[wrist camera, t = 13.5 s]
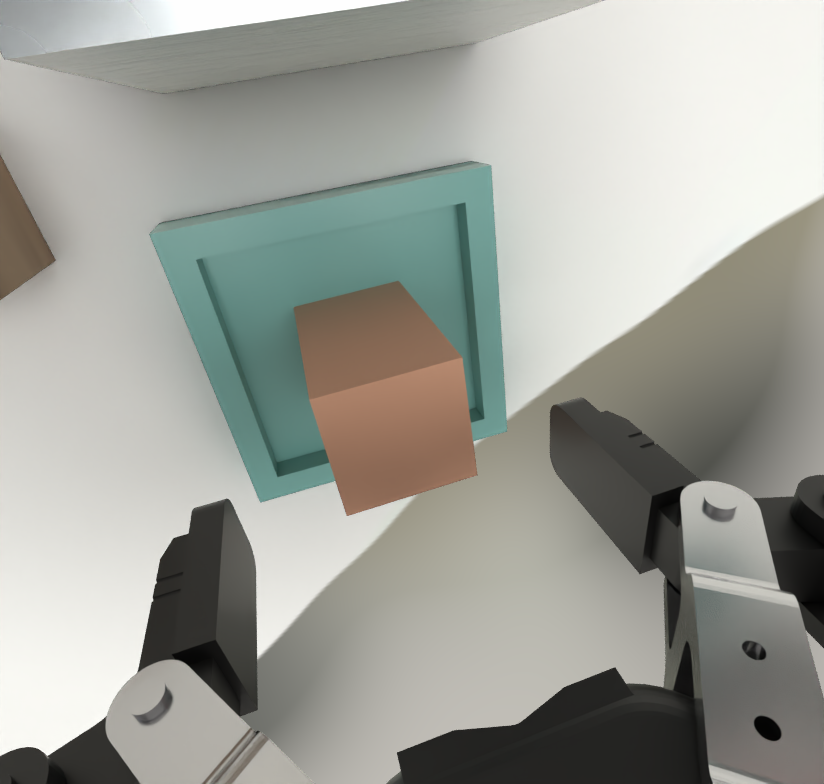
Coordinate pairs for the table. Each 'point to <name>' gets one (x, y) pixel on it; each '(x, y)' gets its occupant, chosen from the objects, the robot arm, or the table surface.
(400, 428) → the terracotta block
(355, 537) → the table surface
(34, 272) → the walnut block
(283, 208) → the teal tray
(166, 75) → the grey unit
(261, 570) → the table surface
